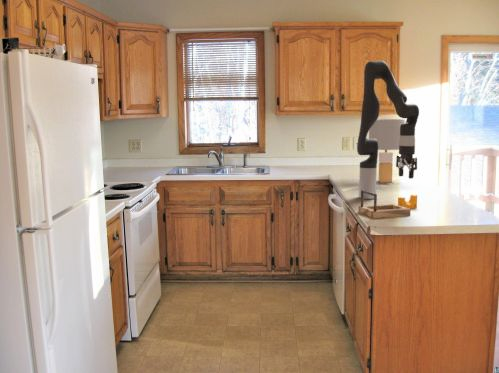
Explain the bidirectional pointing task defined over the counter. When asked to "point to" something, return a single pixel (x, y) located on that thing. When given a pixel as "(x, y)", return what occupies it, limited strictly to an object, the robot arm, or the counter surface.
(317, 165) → the counter surface
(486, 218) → the counter surface
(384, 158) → the lamp
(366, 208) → the wooden tray
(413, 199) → the pipe clamp
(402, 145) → the robot arm
